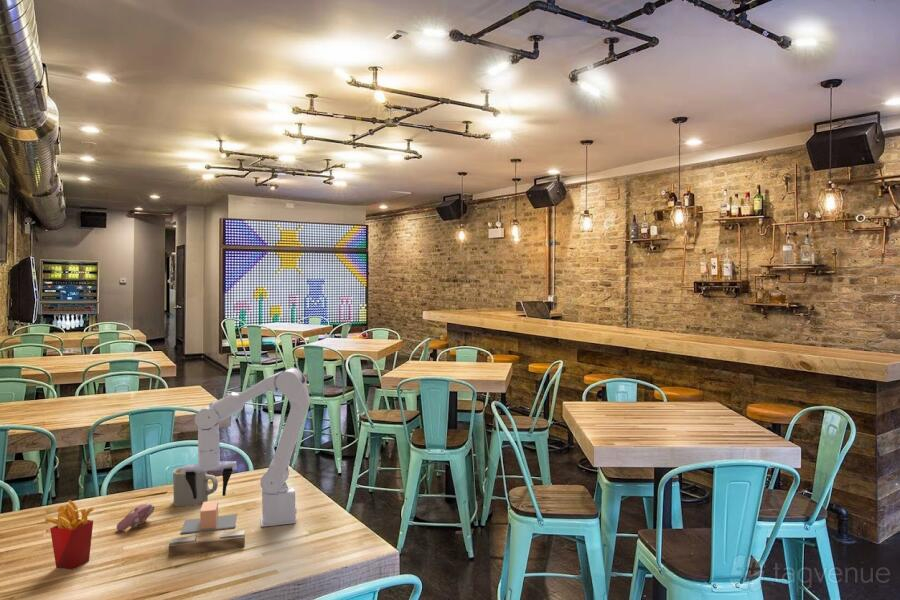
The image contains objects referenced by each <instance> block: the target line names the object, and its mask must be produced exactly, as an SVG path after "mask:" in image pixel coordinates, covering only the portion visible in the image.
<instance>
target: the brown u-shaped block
mask: <svg viewBox="0 0 900 600" xmlns="http://www.w3.org/2000/svg"><path fill="white" fill-rule="evenodd" d="M245 531H246V530H245V529H242V530H233V531H232V530H231V531H224V532H223V531H222V532H220V534H219V535H220V536H219V538H216V539H215V538H214V539H213V538H212V539H206V540H197V536H196V535H188V536H180V537H171V538H170V540H169V542H168V557H172V556H180V555H181V556H182V555H189V554H190V555H191V554H196V553H198V554H199V553H206V552H213V551H222V550H229V549H231V550H232V549H237V548H245V543H246V532H245Z"/></svg>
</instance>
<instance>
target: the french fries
mask: <svg viewBox="0 0 900 600" xmlns="http://www.w3.org/2000/svg"><path fill="white" fill-rule="evenodd" d="M94 510H95V508H94V507H90V508H89V509H87V510H86V508H81V509H80V513H81V518H80V514H79V509H78V507H77V506H76V504H75V503H74V502H73V501H72V500H71V499H69V500H68V501H67V503H66V504H65V505H63V506H62V505H60V506H59V508H57V509H56V511H57V518H53V517H48V516H47V517H46V518H45V521H44V522H47V523H51V524H55V525H54V526H53V527H50V537H51V543H52V549H53V555H54V563H55V568H56V569H63V570H72V571H73V570H75V569H77V568H78V567H81V566H83V565H84V564H86V563H88V562H90V557H91V546H92V536H93V528H94V527H93V526H94V520H92V519H91V520H90V519H88V516H89V515H90V513H92V512H93V511H94Z"/></svg>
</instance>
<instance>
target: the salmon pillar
mask: <svg viewBox="0 0 900 600" xmlns="http://www.w3.org/2000/svg"><path fill="white" fill-rule="evenodd" d="M218 516H219V500H209V501H208V500H207V501H206V502H203V503H202V505H201V508H200V515H199V518H200V521H201V529H209V528H216V526H217V521H218Z"/></svg>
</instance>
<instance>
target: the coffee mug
mask: <svg viewBox="0 0 900 600" xmlns="http://www.w3.org/2000/svg"><path fill="white" fill-rule="evenodd" d="M181 467H182V466H181ZM181 467H177V468H176V469H174V470H173V474H172V475H173V476H172V477H173V479H172V480H173V485H172V486H173V489H172V490H173V505H174V506H176V507H194V506H198V505H201V504H203V502H208V497H209V495H212V494H214V493H215V492H216V491H217V489H218V484H219V482H218V478H217V477H216V476H215V475H214V474H208V471H206V472H197V473H196V487H197V498H196V499H194V498H193V493H192V490H191V487H190V485H189V483H188V482H187V480H186V478H185V476H186V474H181ZM209 480H211V482H212V488H210V487H209Z"/></svg>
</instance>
